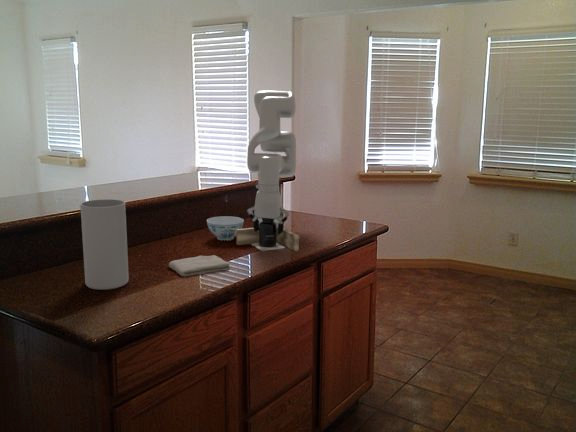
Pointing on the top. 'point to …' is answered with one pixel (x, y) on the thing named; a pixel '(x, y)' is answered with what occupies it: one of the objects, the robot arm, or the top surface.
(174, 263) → the washcloth
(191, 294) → the top surface
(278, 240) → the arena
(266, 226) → the supplement bottle
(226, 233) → the chinaware
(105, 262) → the cylinder vase
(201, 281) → the top surface
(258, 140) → the robot arm
